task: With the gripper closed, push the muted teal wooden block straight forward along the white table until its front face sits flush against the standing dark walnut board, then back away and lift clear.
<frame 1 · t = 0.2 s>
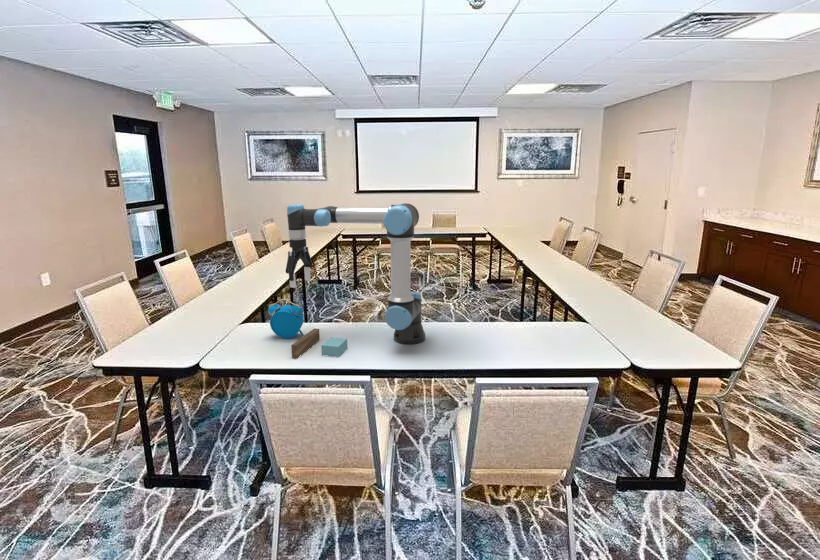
hand: (300, 283, 220), 28 cm above the table, tool pointing down, fingers open, 13 cm apart
alarm clock: (288, 337, 230), on the table
block: (334, 352, 211), on the table
board: (306, 349, 215), on the table
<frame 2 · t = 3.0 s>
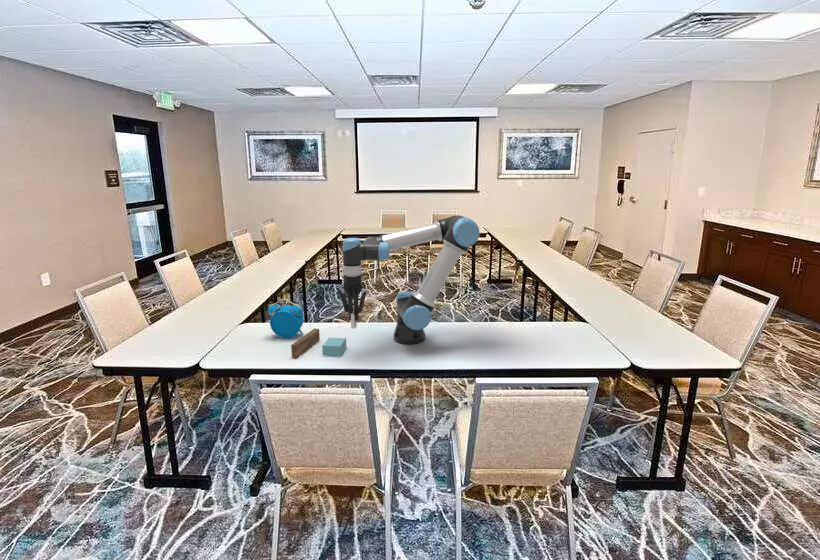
hand: (353, 327, 206), 12 cm above the table, tool pointing down, fingers closed
nothing on the table moved.
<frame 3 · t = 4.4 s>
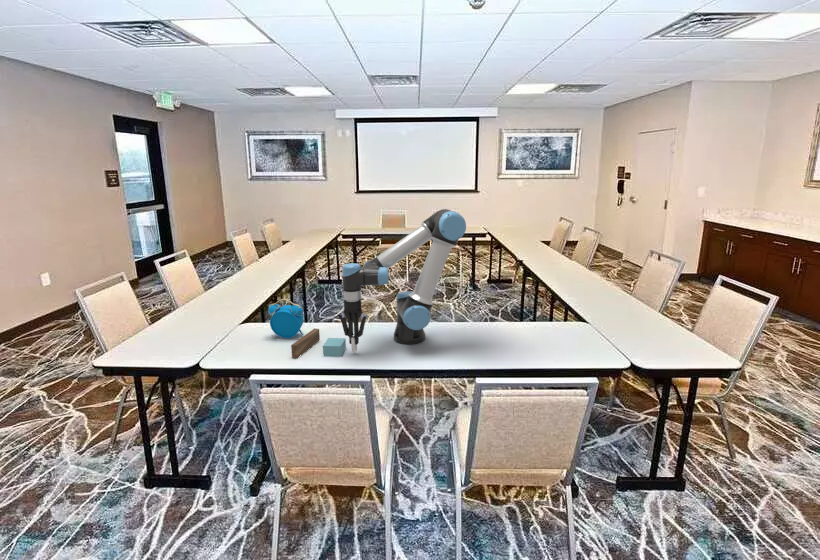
hand: (354, 350, 208), 1 cm above the table, tool pointing down, fingers closed
nothing on the table moved.
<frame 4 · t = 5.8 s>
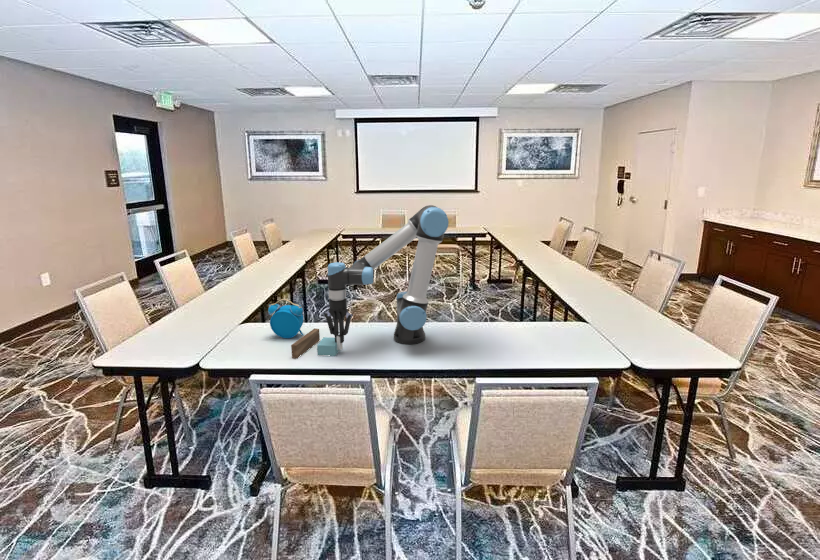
hand: (339, 349, 210), 2 cm above the table, tool pointing down, fingers closed
block: (329, 351, 212), on the table, touching gripper
everything else where it was.
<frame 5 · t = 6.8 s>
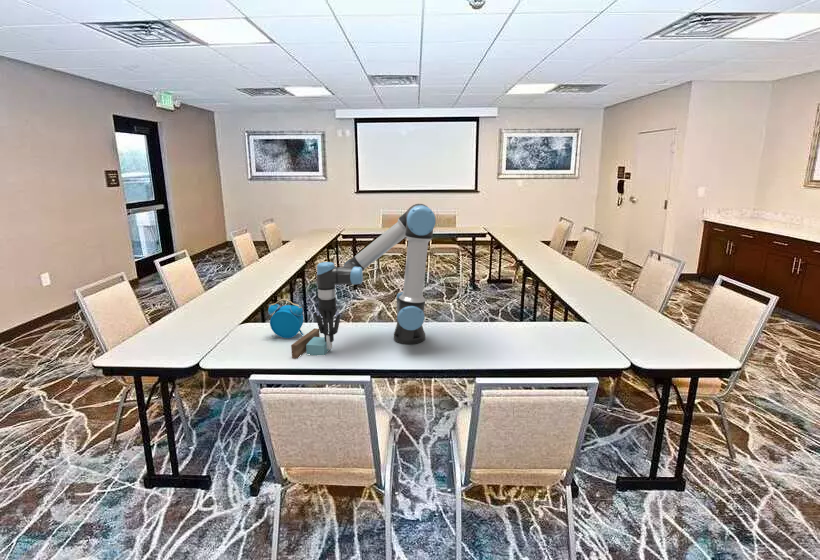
hand: (329, 348, 211), 2 cm above the table, tool pointing down, fingers closed
block: (319, 351, 212), on the table, touching gripper
everything else where it was.
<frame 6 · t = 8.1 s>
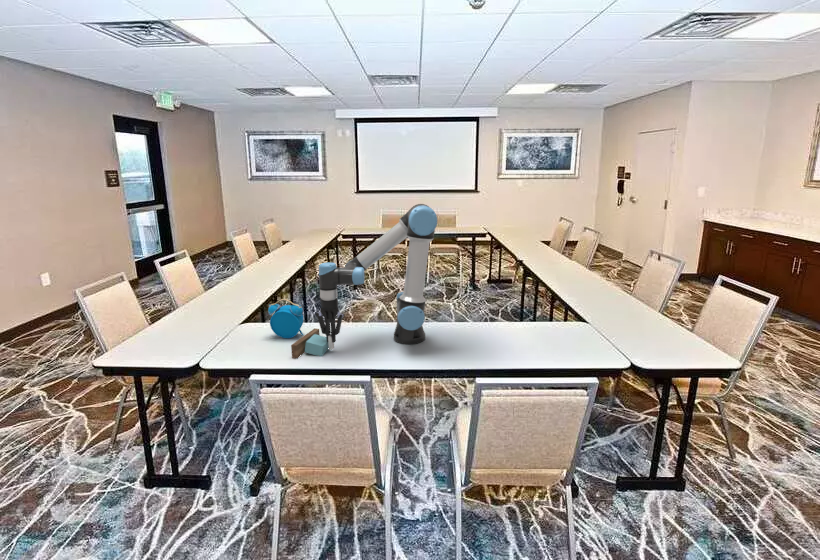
hand: (331, 348, 211), 1 cm above the table, tool pointing down, fingers closed
block: (317, 350, 212), point 1 cm above the table, tilted 12°
everything else where it was.
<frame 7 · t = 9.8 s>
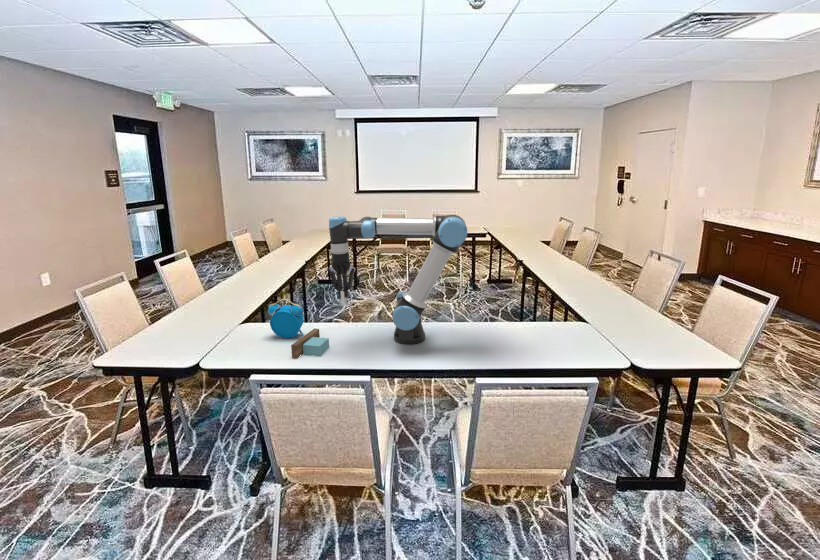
hand: (344, 304, 211), 21 cm above the table, tool pointing down, fingers closed
block: (316, 351, 212), on the table
everything else where it was.
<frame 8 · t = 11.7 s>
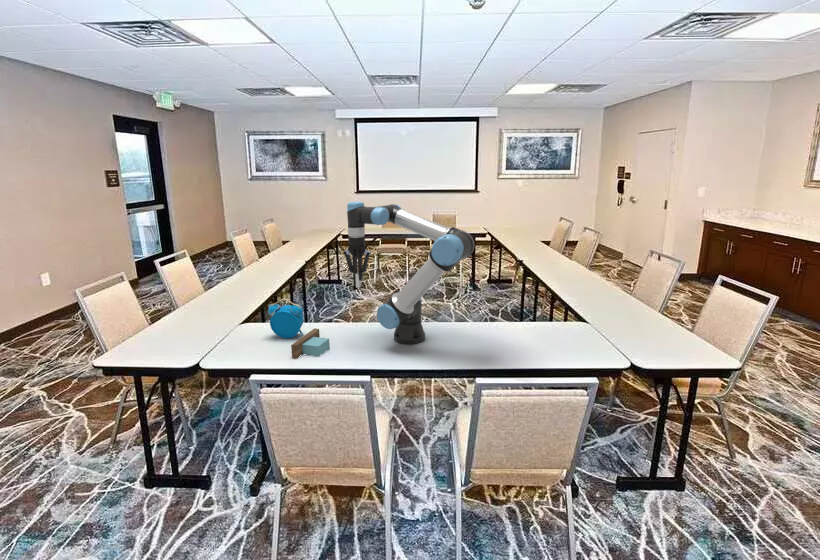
hand: (358, 286, 218), 26 cm above the table, tool pointing down, fingers closed
nothing on the table moved.
at the end: block 1.4 cm from the target spot on the table beside the board, on the table; block tilted 0° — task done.
